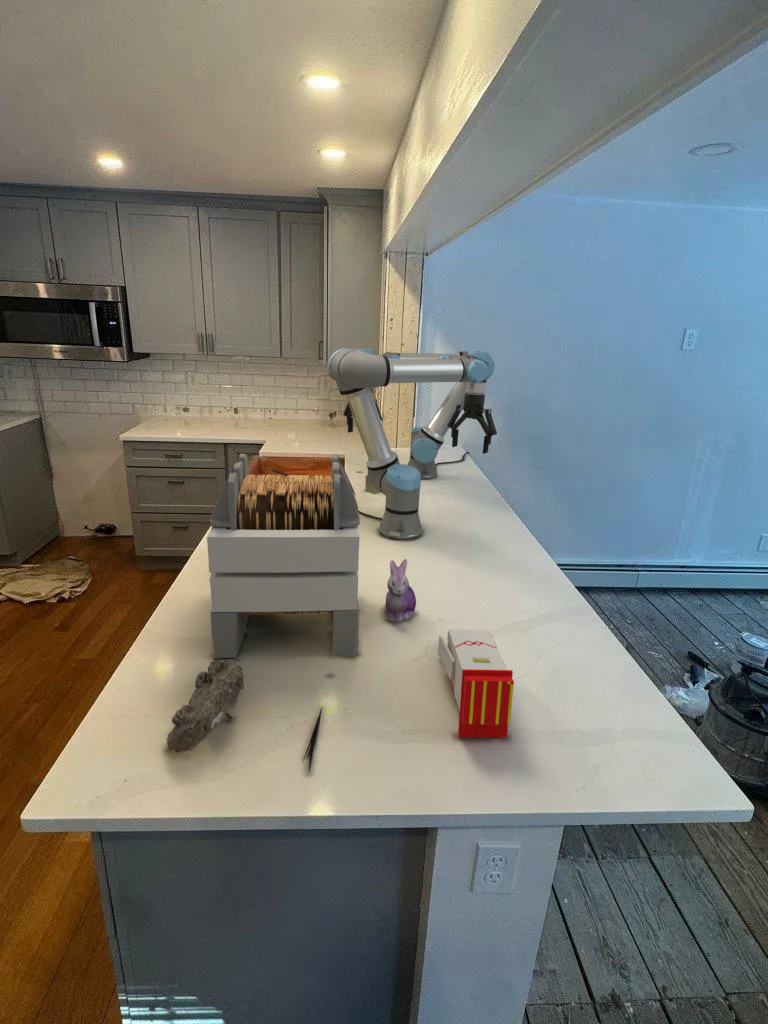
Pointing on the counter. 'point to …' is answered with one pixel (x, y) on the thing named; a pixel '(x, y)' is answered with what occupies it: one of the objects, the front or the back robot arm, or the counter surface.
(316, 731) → the feather
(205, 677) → the fossil
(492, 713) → the toy
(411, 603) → the figurine
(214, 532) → the record crate stand
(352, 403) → the front robot arm
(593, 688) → the counter surface
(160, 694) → the counter surface
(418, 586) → the counter surface
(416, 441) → the back robot arm
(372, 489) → the metal block
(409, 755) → the counter surface
